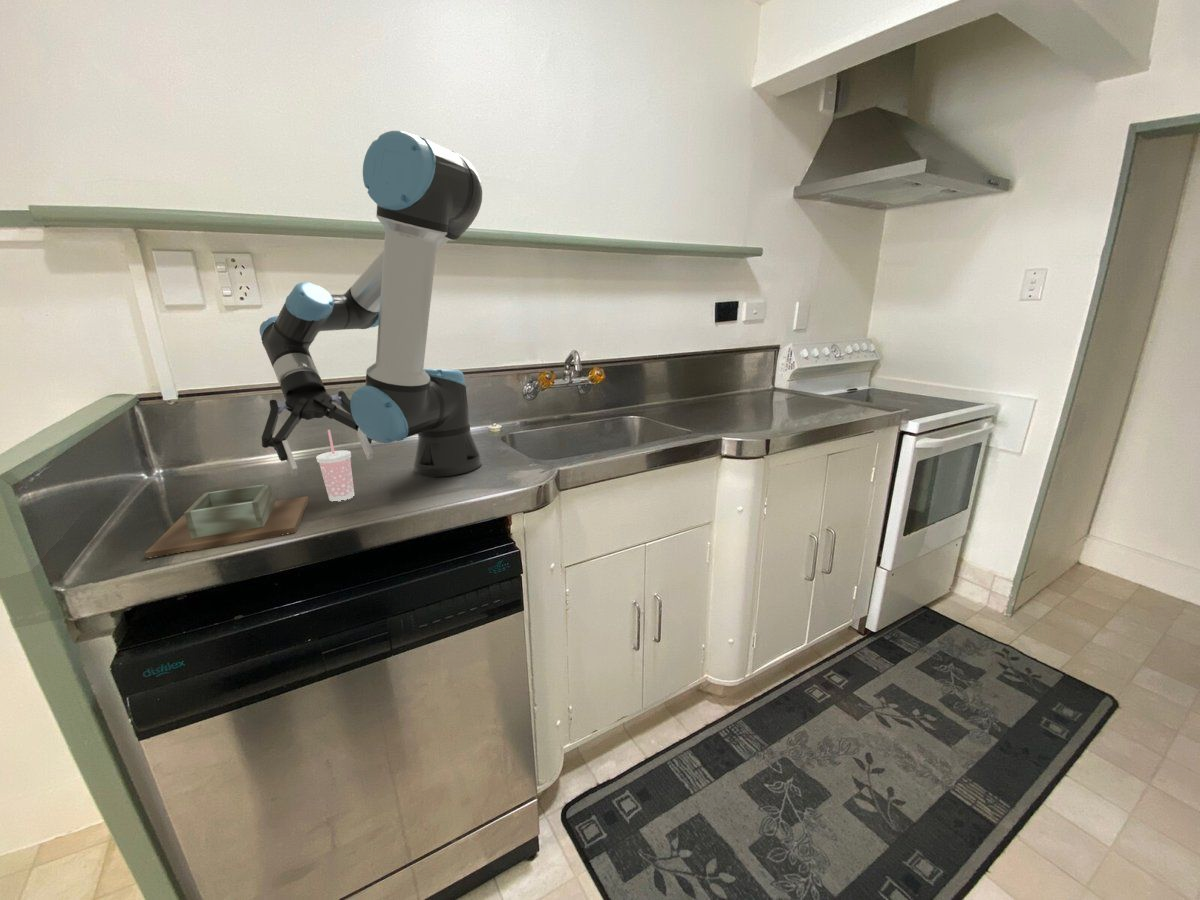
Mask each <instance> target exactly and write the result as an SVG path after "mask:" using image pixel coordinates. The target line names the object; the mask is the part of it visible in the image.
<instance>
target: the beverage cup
mask: <svg viewBox="0 0 1200 900" xmlns="http://www.w3.org/2000/svg"><path fill="white" fill-rule="evenodd" d="M327 434H328V440H329V445H330V449H331V451H327V452H324V453H323V452H322V453H321V454H318V455H317V456H316V457H315V458H316V463H317V464H318V463H319V467H320V471H321V476H322V478H323V482H324V486H325V489H326V490H325V491H326V493H327V496H328V500H329V501H331V502H333V501H338V502H342V501H341V500H344V501H348V500H351V499H352V498H354V497H355V487H354V479H353V478H354V477H353V471H352V470H353V469H352V459H351V458H352V452H351V451H350V450H346V449H345V450H344V449H343V450H335V448H334V443H333V442H334V441H333V438H332V433H331V429H327ZM353 496H354V497H353ZM347 499H348V500H347Z"/></svg>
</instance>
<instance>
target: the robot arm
mask: <svg viewBox="0 0 1200 900" xmlns="http://www.w3.org/2000/svg"><path fill="white" fill-rule="evenodd" d="M362 180H363V183H364V187H365V188H366V189H367V194H368V196H369V198H370V199H371V200H372V201H373V202H374V203H375V204H376V214H375V215H376V219H378V221H379V222H380V224H381V225H382V226H383V228H384V242H383V243H384V244H383V250H381V252H380V253H379V254H378V255H377V257H376V258H375V259H374V260H373V261H372V262H371V264H370V265H369V266H368V267H367V268H366V269H365V270H364V272H362V274H361V275H360V276H359V277H358V278H357V280H356V281H354V283H353V284H352V286H350V288H349V289H347V291H346V292H344V293H342V294H331V293H330V292H329V291H327V289H325V288H324V287H322V286H321V285H318V284H313V283H312V282H309V281H301V282H299V283H297V284H296V285H295V286H294V287H293V289H292V290H291V291H290V293H289V294H288V295H287V296H286V298H285V302H284V304H283V305H282V307H281V310H280V312H279V313H278V315H274V316H271V317H268V319H266V320H265V321H262V323H261V324H260V326H259V335H260V339H261V343H262V346H263V348H264V350H265V352H266V355H267V356H268V357H267V358H268V359H269V362H270V363H271V366H272V368H273V371H274V373H275V376H276V378H277V382H278V383H279V387H280V389H281V392H282V395H283V397H284V399H285V401H278V400H276V399H270V400H269V414H268V417H267V419H266V424H265V425H264V426H265V427H264V430H263V433H262V434H261V447H262V448H264V449H265V448H267V449H268V448H269V447H271V448H273V449H274V451H276V454H277V457H278V459H279V461H280V462H285V461H286V462H287V463H286V464H287V465H288V468H289V470H290V472H291V476H292V477H297V476H298V473H299V472H298V469H299V468H298V466H297V463H296V461H295V458H294V455H293V453H292V450H291V447H290V445H289V442H288V440H287V439H288V438H289V436H290V435H291V433H292V432H293V431H294V430H295V428H296V426H297V425H299V423H300V421H301V420H302V419H304V420H306V421H308V420H313V419H321V418H324V417H326V418H328V419H331V420H332V419H334V420H335V421H337V422H338V423H341V424H343V425H345V426H346V427H349V428H351V429H352V430H355V431H357V432H356V436H357V438H358V441H359V443H360V445H361V447H362V450H363V452H364V454H365V456H366V459H367V461H371V460H372V459H373V456H374V451H373V450H374V449H373V448H372V445H371V444H372V441H374V442H377V443H380V444H390V443H394V442H400V441H404V440H405V439H407V438H410V437H412V436H414V435H417V436H418V438H417V439H418V440H417V444H416V449H415V454H414V459H413V466H414V472H415V474H417V475H419V476H422V477H430V478H431V477H433V478H435V477H436V478H439V477H441V478H442V477H451V476H457V475H461V474H465V473H469V472H472V471H475V470H476V469H478V468H479V467H480V466H481V465H482V455H481V451H480V450H479V447H478V445H477V443H476V441H475V439H474V437H473V434H472V432H471V424H470V423H471V422H470V415H469V414H470V413H469V405H468V397H467V384H466V380H465V375H464V373H463V371H461V370H460V369H452V368H451V369H450V368H449V369H445V368H443V369H442V368H441V369H437V368H432V369H431V368H424V366H425V365H424V364H425V357H426V347H427V346H426V345H427V339H428V338H427V337H428V329H429V328H428V327H429V321H430V311H431V310H430V308H431V302H432V293H433V292H432V291H433V283H434V274H435V264H436V256H437V253H438V252H439V251H440V250H441V249H442V248H443V247H444V246H445V245H446V244H447V243H448V241H450V242H455V241H457V240H459V238H460V237H462V235H463V234H464V233H465V232H466V231H467V230H468V229H469V228H470V226H471V225H472V224H473V222H474V220H475V219H476V218H477V217H478V214H479V212H480V210H481V206H482V202H483V187H482V183H481V179H480V177H479V174H478V172H477V170H476V169H475V167H474V165H472V163H471V162H470V161H469V160H468V159H466V158H465V157H464V156H462V155H461V154H459V153H457V152H455V151H453V150H450V149H447V148H445V147H443V146H440V145H438V144H436V143H434V142H432V141H430V140H428V139H427V138H424V137H423V136H419V135H417V134H413V133H409V132H406V131H402V130H390V131H387V132H384V133H381V134H380V135H379V136H378V137H377V139H375V140H373V141H372V142H371V144H370V145H369V147H368V149H367V151H366V153H365V155H364V159H363V163H362ZM376 327H378V328H377V340H376V342H377V343H376V356H375V362H374V363H373V364H371V365H370V366H368V367H367V369H366V372H365V374H366V375H365V385H362V386H359V388H357V389H356V391H353V393H352V394H351V397H350V399H349V398H348V395H347V394H346V393H345V391H343V390H340V391H338V394H333V395H331V394H329V393H328V392H327V390H326V387H325V385H324V383H323V381H322V379H321V378H322V377H321V376H320V373H319V371H318V369H317V366H316V365H315V362H314V359H313V357H312V356H311V355H312V354H311V353H310V351H309V349H310V346H311V345H312V343H313V342H314V341H315V339H316V337H317V335H318V334H319V333H320V332H326V331H327V332H328V331H330V332H331V331H343V330H366V329H369V328H376ZM334 403H335V404H337V405H335V404H334ZM337 406H340V407H341V408H342V409H343V410H342V409H340V408H338V407H337ZM285 409H286V410H287V411H288V412H290V415H289V416H288V417H287V419H286V420H285V422H284V423H283V425H281V427H280V428H279V431H277V433H276V435H275V436H274V433H275V429H276V427H277V424H278V420H279V415H281V414H282V413H283V411H284V410H285Z"/></svg>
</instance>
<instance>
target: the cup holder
mask: <svg viewBox="0 0 1200 900" xmlns="http://www.w3.org/2000/svg"><path fill="white" fill-rule="evenodd" d="M274 499H275V498H274V496H273V490H272V486H271V483H265V484H258V485H251V486H244V487H237V488H236V487H235V488H229V489H222V490H215V491H207V492H203V494H202V495H200V497H198V498H197V500H195V501H194V502H193V504H192V505H190V507H188V508H187V510H185V512H183V515H181V516H180V518H179V519H178V520H176V521H175V522H174V523H173V524H172V525H171V527H169V528H168V530H167V531H166V532H165V533H163V535H162V536H160V537H159V538H158V539H157V540H156V541H155V542H154V543H153V545H151V546H150V547H149V548H148V549H147V550H146V551H145V552H144V555H145V558H149V557H155V556H161V557H163V556H162V555H167V554H173V555H175V554H174V553H178V554H181V553H180V552H184V553H186V552H185V551H190V552H193V551H192V550H195V551H198V550H197V549H201V550H205V549H204V548H207V549H211V548H210V547H212V548H217V547H216V546H218V547H223V546H222V545H224V546H228V545H227V544H229V545H233V544H232V543H235V544H240V543H239V542H241V543H245V542H244V541H247V542H250V541H249V540H252V541H257V539H258V540H262V539H263V538H264V539H268V538H267V537H269V538H274V537H273V536H275V537H279V536H278V535H281V536H283V535H282V534H286V535H288V534H287V533H292V534H294V533H293V532H296V533H297V531H296V530H298V528H299V526H298V525H300V523H301V521H302V518H303V515H304V513H305V511H306V509H305V508H307V505H308V503H309V496H308V495H306V496H301V497H292V498H285V499H280V500H274ZM300 520H301V521H300ZM297 527H298V528H297ZM264 539H263V540H264ZM167 556H168V555H167Z"/></svg>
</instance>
